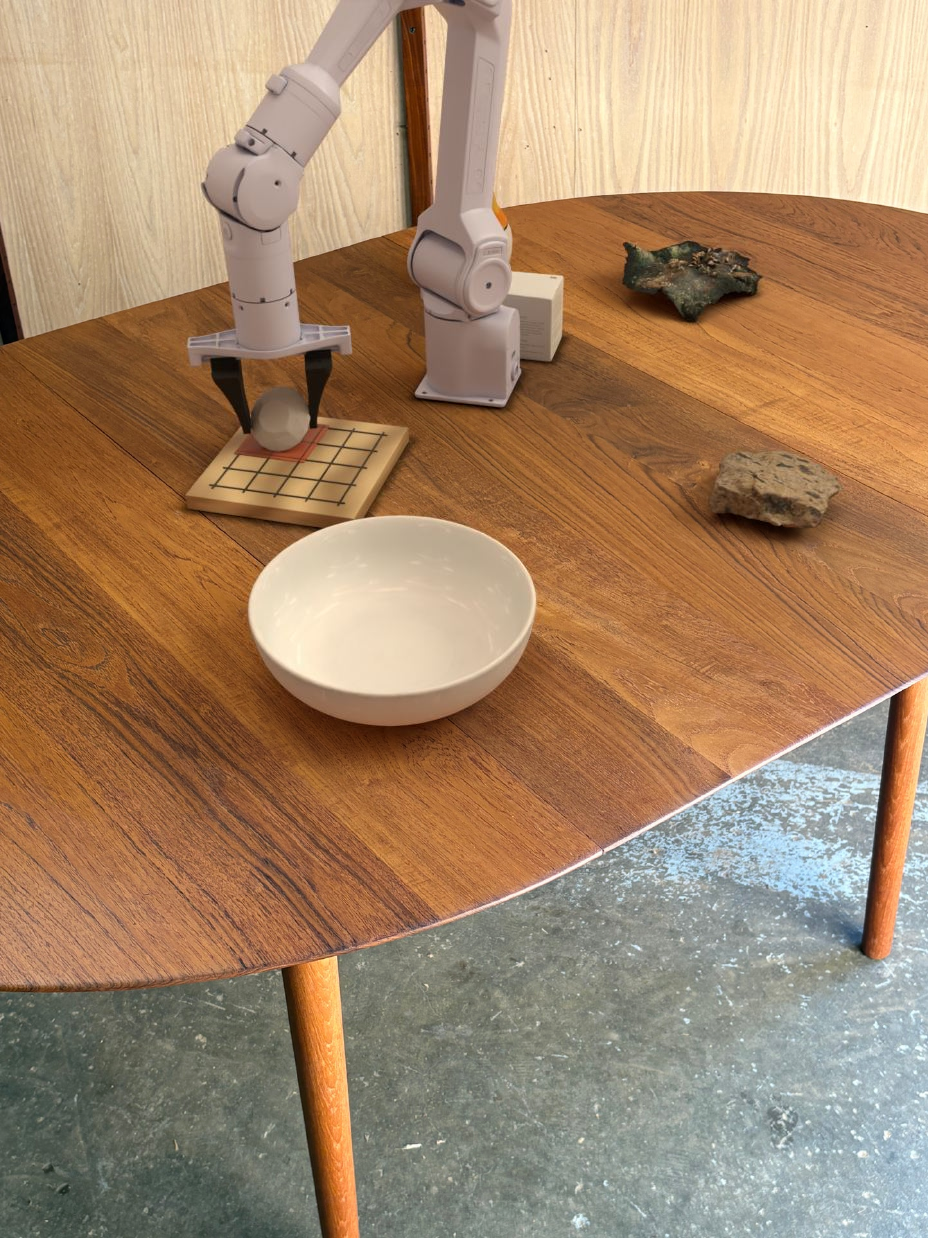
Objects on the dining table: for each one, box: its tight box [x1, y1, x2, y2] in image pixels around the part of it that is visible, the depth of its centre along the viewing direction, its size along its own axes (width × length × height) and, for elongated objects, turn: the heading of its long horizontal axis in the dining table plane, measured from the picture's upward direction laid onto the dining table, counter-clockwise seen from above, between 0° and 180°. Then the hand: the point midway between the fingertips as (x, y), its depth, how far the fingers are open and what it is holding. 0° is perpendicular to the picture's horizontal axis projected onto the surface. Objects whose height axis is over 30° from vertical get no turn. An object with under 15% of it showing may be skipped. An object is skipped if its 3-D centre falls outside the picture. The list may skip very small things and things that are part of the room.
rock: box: [707, 450, 843, 530], centre depth 107 cm, size 11×11×4 cm
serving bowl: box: [247, 515, 537, 727], centre depth 90 cm, size 21×21×7 cm
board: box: [184, 413, 410, 529], centre depth 114 cm, size 16×16×2 cm
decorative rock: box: [621, 240, 764, 322], centre depth 144 cm, size 19×6×15 cm
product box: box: [501, 270, 565, 362], centre depth 131 cm, size 6×6×7 cm
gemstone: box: [250, 385, 310, 452], centre depth 115 cm, size 6×6×5 cm
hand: (280, 426), depth 115 cm, fingers closed on gemstone, 5 cm apart
